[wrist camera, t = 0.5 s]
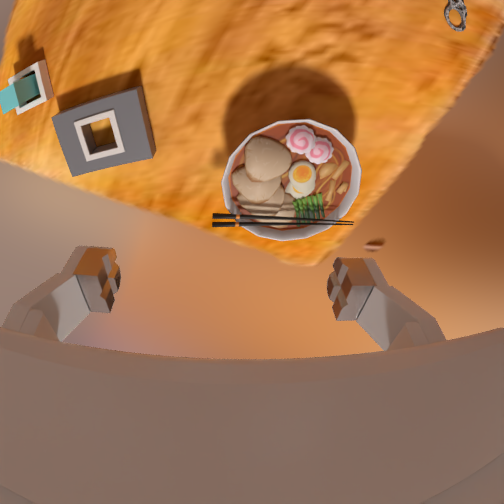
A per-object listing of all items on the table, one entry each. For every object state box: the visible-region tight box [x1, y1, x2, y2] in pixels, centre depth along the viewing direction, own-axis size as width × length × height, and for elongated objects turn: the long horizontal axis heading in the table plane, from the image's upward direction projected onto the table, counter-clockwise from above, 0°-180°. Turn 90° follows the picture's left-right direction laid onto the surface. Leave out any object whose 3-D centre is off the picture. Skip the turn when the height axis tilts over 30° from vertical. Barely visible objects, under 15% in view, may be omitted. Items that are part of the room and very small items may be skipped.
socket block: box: [52, 86, 156, 177], centre depth 39 cm, size 12×16×3 cm
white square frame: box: [8, 60, 54, 115], centre depth 30 cm, size 8×8×2 cm
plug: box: [0, 74, 40, 114], centre depth 28 cm, size 4×4×8 cm
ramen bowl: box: [212, 119, 362, 241], centre depth 46 cm, size 25×23×8 cm
